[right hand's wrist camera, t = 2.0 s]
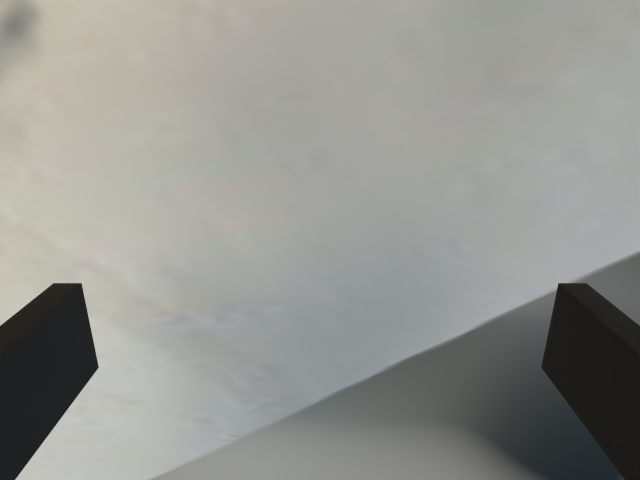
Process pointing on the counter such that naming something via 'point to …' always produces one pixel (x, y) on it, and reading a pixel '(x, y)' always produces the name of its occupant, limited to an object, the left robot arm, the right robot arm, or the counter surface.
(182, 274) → the counter surface
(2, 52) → the counter surface
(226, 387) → the counter surface
